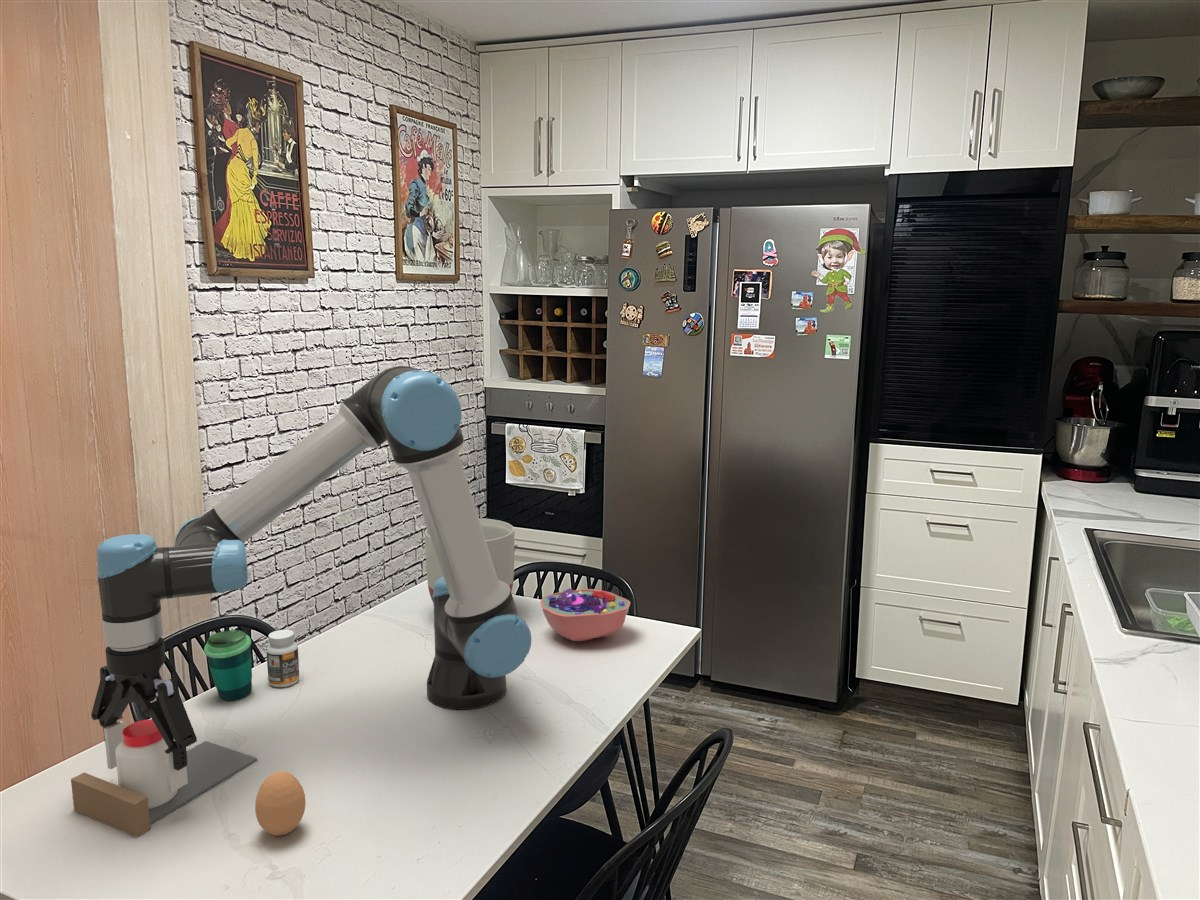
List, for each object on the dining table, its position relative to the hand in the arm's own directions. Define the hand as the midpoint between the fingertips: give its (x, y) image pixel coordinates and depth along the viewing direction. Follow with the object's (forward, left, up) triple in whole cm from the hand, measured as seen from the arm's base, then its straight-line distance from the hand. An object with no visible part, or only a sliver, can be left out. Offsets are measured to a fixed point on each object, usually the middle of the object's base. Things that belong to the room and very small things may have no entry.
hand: (147, 775), depth 129 cm
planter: (-1, -83, -4) cm, 83 cm away
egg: (-24, -3, -4) cm, 24 cm away
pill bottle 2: (+12, -38, -4) cm, 40 cm away
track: (0, -5, -4) cm, 6 cm away
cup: (+16, -29, -4) cm, 33 cm away
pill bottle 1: (0, 0, -3) cm, 3 cm away
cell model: (-30, -85, -4) cm, 90 cm away
